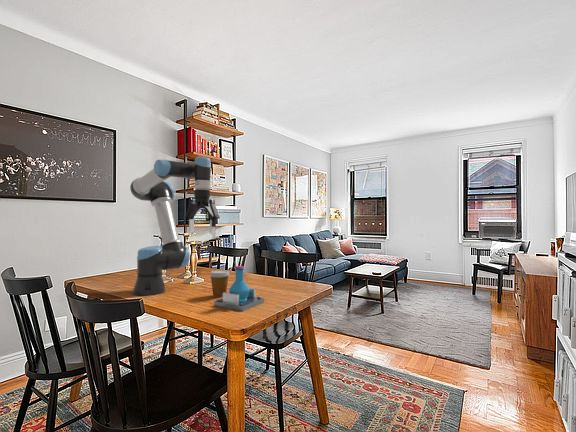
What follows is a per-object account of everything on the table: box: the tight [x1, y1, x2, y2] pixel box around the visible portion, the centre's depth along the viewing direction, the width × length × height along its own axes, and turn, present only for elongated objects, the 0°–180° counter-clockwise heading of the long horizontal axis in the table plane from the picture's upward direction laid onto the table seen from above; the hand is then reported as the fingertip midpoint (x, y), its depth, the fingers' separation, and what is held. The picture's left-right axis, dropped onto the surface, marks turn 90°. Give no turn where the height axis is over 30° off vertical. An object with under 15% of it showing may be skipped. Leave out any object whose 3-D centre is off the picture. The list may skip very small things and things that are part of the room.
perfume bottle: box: [228, 265, 251, 302], centre depth 146 cm, size 9×9×15 cm
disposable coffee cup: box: [209, 269, 230, 298], centre depth 161 cm, size 10×10×12 cm
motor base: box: [213, 287, 265, 312], centre depth 146 cm, size 16×16×6 cm
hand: (201, 233), depth 157 cm, fingers open, 13 cm apart
